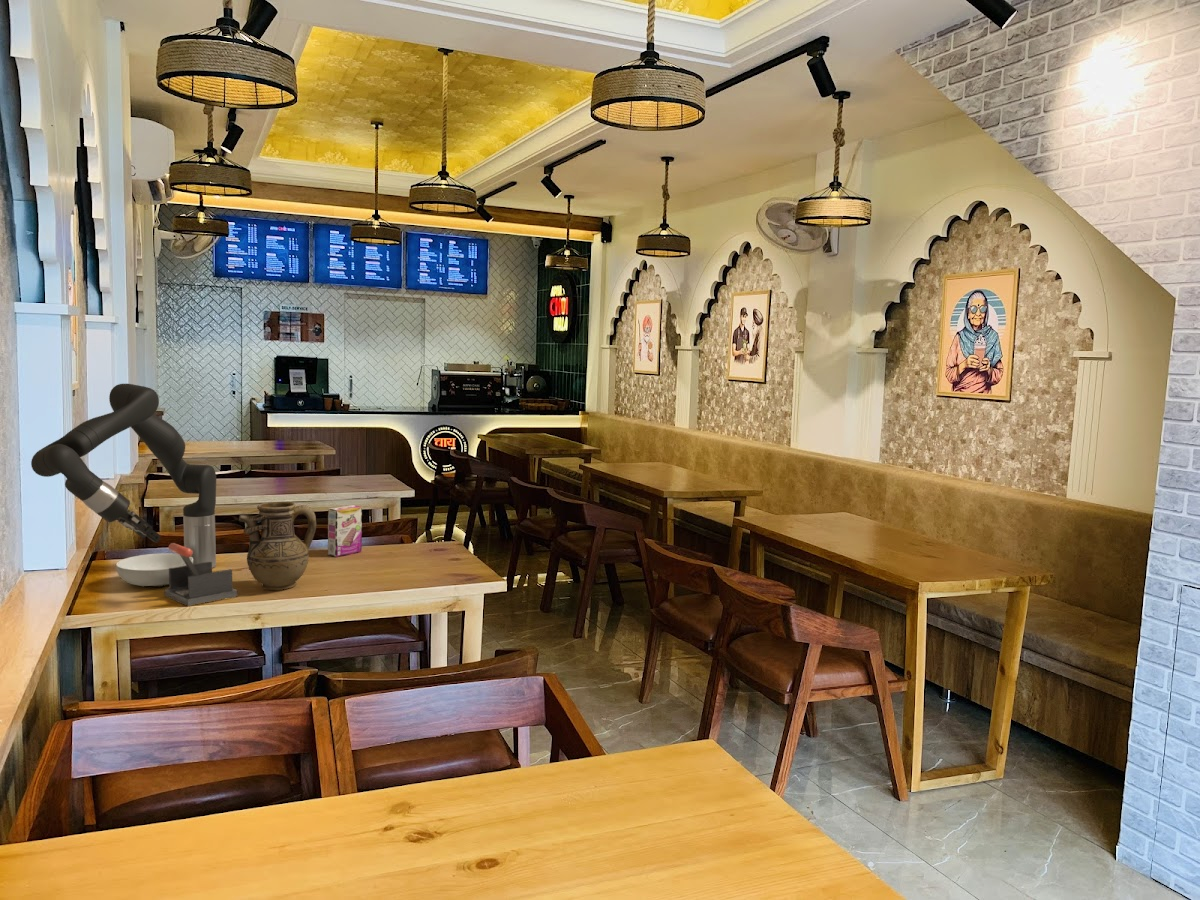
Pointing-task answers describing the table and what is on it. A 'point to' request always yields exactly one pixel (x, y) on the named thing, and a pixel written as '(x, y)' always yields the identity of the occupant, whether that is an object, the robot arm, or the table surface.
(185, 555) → the switch lever
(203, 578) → the switch box
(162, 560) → the serving bowl
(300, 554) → the decorative pitcher
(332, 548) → the candy bar box
